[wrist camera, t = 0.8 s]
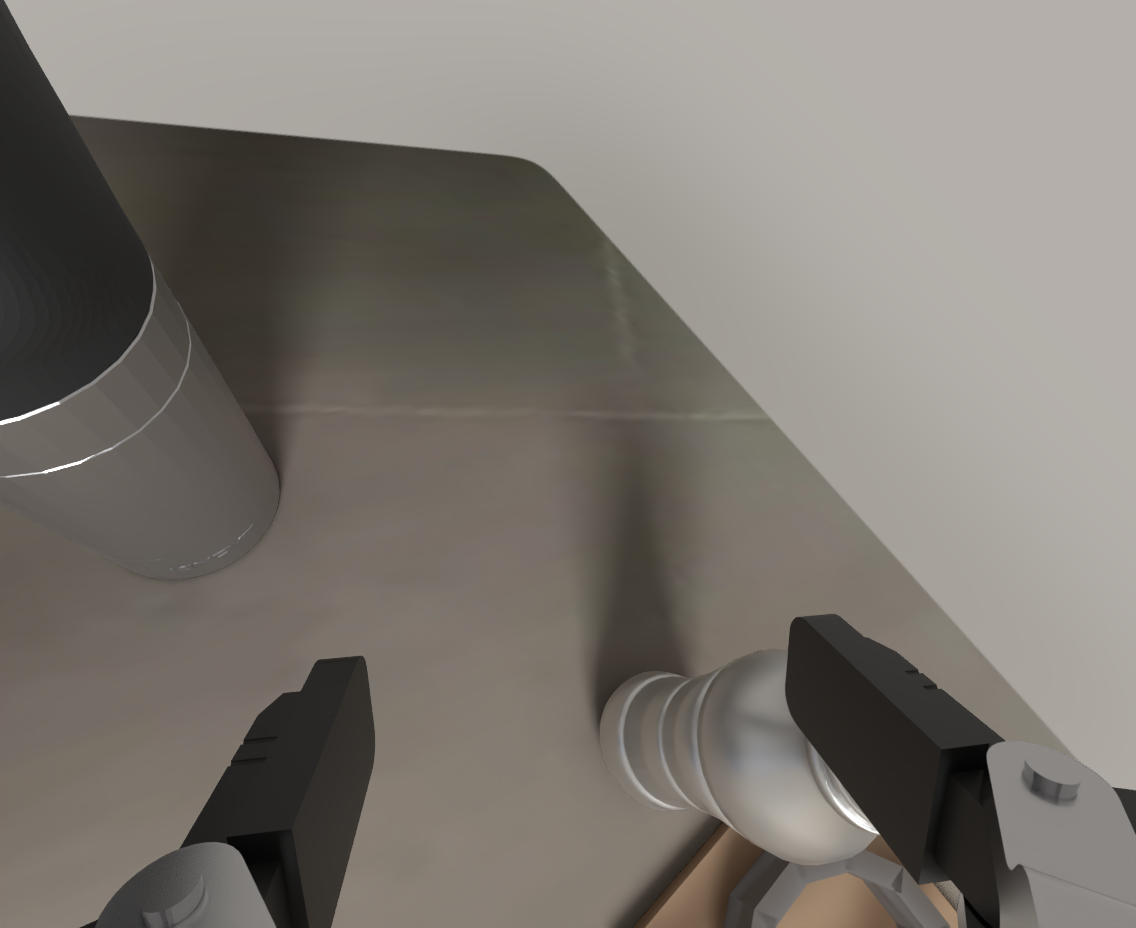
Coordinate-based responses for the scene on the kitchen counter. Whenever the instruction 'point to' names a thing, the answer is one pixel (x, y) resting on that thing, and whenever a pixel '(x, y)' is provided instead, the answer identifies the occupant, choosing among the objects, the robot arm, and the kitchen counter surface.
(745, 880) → the bottle dock
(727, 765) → the silver aluminium bottle
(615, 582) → the kitchen counter surface
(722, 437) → the kitchen counter surface
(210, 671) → the kitchen counter surface
